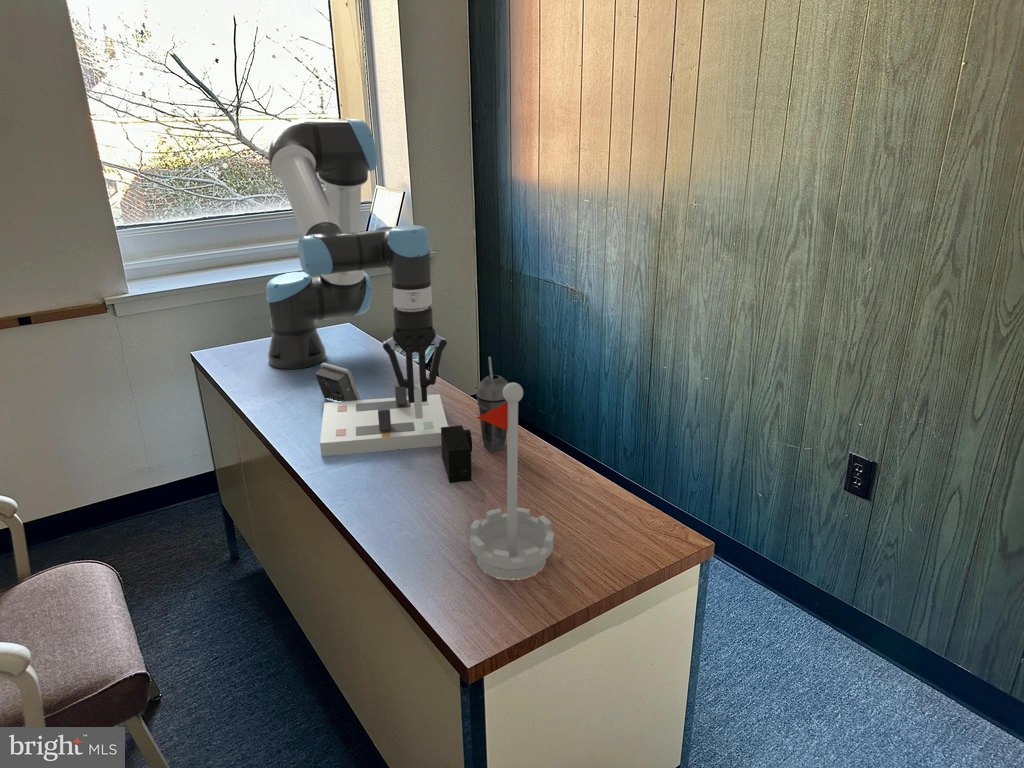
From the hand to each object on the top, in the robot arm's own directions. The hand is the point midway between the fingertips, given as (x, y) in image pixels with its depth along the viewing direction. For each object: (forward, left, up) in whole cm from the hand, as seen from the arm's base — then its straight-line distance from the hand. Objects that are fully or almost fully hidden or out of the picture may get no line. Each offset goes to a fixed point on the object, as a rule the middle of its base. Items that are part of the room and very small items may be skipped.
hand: (418, 415), depth 145 cm
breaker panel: (-6, -7, -6) cm, 11 cm away
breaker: (-12, -3, -2) cm, 13 cm away
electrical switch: (-23, -17, -6) cm, 29 cm away
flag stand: (+44, +11, -6) cm, 46 cm away
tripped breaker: (0, -7, -2) cm, 7 cm away
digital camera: (+14, +7, -6) cm, 17 cm away
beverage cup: (+6, +15, -6) cm, 17 cm away
